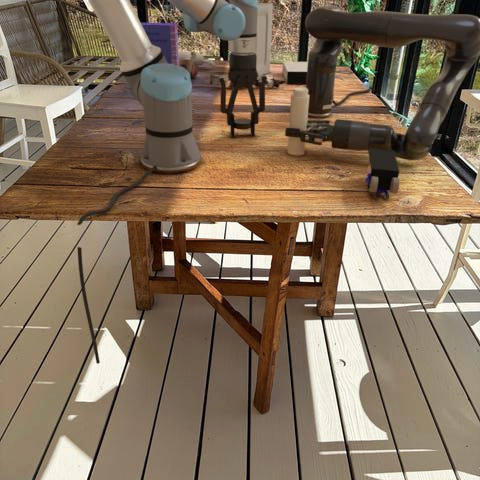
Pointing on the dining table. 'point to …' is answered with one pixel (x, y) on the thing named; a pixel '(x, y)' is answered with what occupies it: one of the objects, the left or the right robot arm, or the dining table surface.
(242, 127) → the lid
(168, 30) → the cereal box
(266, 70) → the tall white carton
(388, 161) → the figurine character
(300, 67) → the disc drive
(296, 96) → the cream cylindrical bottle
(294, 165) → the dining table surface
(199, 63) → the toy
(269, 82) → the figurine
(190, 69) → the anatomical model
